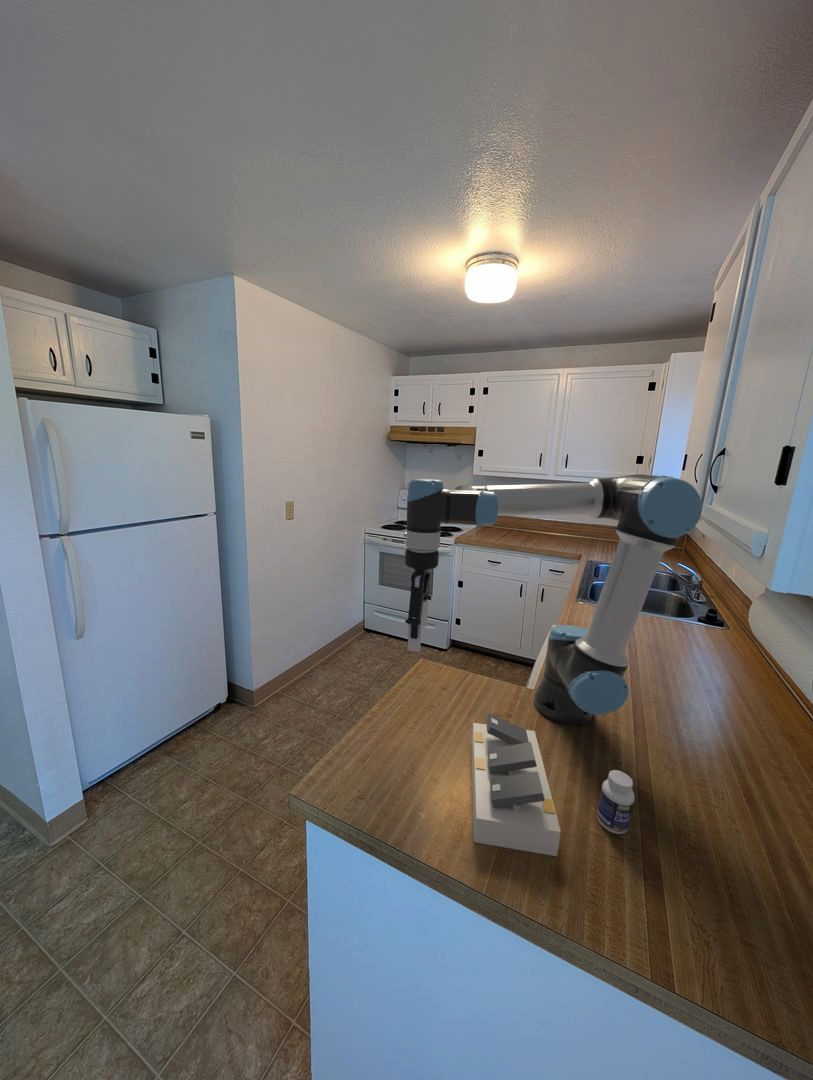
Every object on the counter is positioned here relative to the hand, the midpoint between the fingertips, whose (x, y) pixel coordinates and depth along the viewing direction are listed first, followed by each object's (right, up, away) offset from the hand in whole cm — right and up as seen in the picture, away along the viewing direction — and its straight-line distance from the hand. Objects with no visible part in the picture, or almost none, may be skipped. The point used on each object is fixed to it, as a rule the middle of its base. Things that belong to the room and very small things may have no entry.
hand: (417, 637), depth 95 cm
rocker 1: (+19, -19, -6) cm, 28 cm away
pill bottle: (+36, -31, -19) cm, 51 cm away
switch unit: (+18, -28, -12) cm, 35 cm away
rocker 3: (+17, -22, -22) cm, 36 cm away
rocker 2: (+18, -21, -14) cm, 31 cm away
